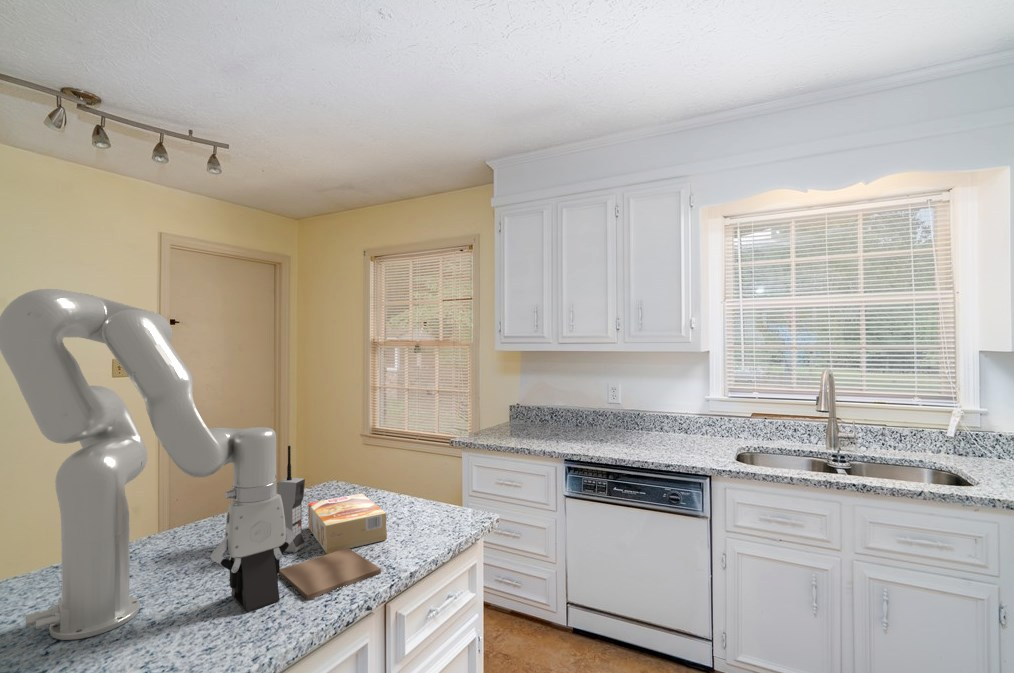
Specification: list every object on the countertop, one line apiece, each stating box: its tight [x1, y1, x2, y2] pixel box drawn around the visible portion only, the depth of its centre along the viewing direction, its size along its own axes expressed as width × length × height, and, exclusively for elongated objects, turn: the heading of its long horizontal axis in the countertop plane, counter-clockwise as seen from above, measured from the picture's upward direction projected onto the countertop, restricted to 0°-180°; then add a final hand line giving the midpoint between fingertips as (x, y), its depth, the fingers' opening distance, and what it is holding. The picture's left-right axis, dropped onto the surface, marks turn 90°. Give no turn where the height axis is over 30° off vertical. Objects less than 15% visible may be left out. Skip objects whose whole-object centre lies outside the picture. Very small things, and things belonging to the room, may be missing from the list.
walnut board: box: [278, 548, 382, 601], centre depth 108 cm, size 16×15×1 cm
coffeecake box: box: [307, 493, 388, 555], centre depth 130 cm, size 15×7×20 cm
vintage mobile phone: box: [276, 445, 306, 554], centre depth 121 cm, size 4×5×25 cm
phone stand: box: [230, 549, 281, 613], centre depth 98 cm, size 9×6×12 cm, turn 45°
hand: (255, 583), depth 98 cm, fingers closed on phone stand, 6 cm apart
